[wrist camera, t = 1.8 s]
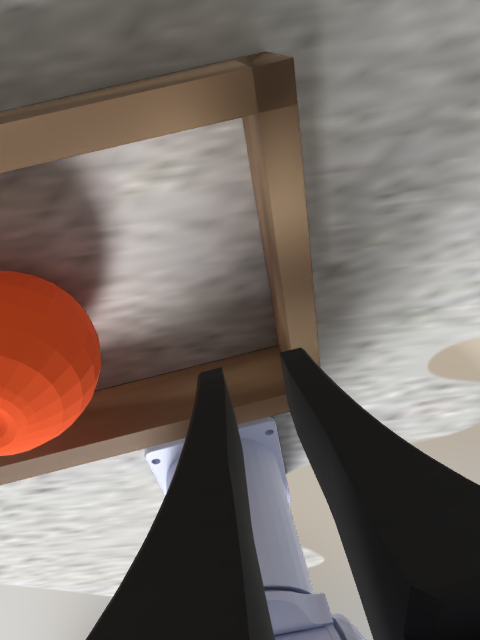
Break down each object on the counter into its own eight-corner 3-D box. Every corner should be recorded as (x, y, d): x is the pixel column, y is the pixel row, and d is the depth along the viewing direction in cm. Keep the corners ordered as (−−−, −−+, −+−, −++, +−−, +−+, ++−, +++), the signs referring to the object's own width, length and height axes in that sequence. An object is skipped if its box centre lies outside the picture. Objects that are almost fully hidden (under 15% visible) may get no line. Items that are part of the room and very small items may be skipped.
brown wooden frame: (302, 356, 23) (323, 402, 20) (-7, 434, 23) (-30, 492, 20) (266, 51, 15) (293, 57, 12) (-231, 164, 14) (-328, 198, 11)
